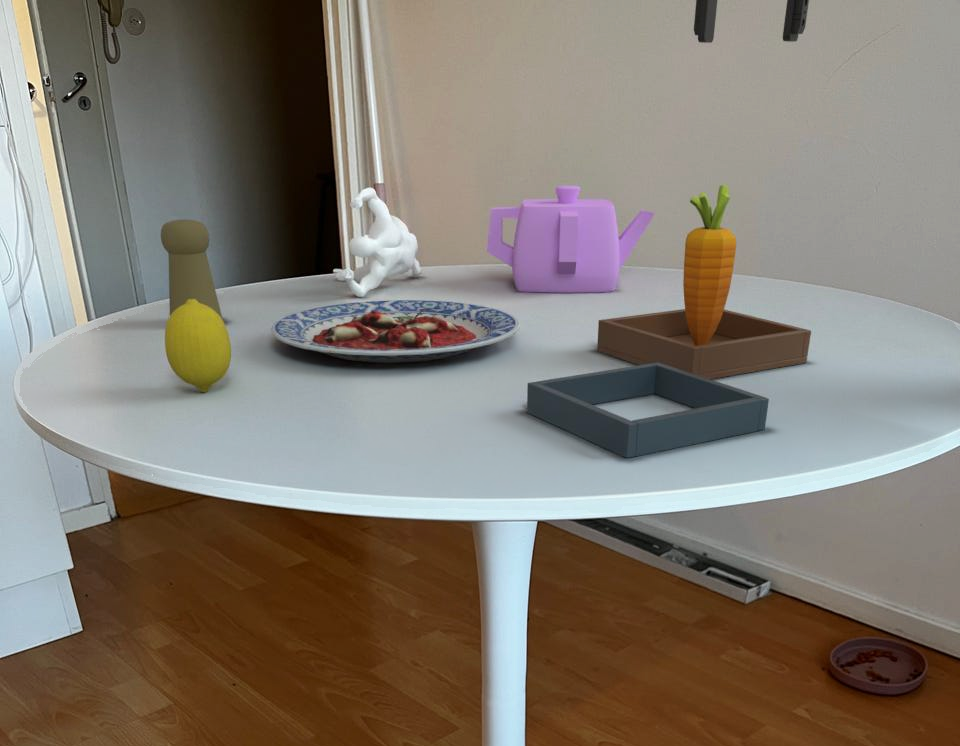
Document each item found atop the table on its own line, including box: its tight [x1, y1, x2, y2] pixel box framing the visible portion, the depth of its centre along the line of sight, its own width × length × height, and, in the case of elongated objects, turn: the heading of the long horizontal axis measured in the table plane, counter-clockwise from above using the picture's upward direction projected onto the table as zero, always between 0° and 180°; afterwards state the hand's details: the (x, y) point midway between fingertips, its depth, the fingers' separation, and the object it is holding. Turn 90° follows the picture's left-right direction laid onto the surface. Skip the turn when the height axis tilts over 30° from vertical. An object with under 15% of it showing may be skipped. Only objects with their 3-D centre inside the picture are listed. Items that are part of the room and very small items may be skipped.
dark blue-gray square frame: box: [526, 362, 770, 459], centre depth 81 cm, size 14×14×2 cm
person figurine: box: [332, 187, 423, 298], centre depth 133 cm, size 13×13×18 cm
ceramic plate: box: [270, 299, 521, 364], centre depth 105 cm, size 26×26×3 cm
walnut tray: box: [596, 308, 812, 380], centre depth 100 cm, size 15×15×3 cm
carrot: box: [682, 184, 737, 346], centre depth 97 cm, size 5×5×15 cm
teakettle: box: [486, 185, 655, 294], centre depth 134 cm, size 17×17×12 cm
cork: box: [160, 218, 224, 321], centre depth 113 cm, size 6×6×11 cm
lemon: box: [164, 299, 232, 393], centre depth 88 cm, size 6×6×8 cm
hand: (746, 41), depth 96 cm, fingers open, 8 cm apart
